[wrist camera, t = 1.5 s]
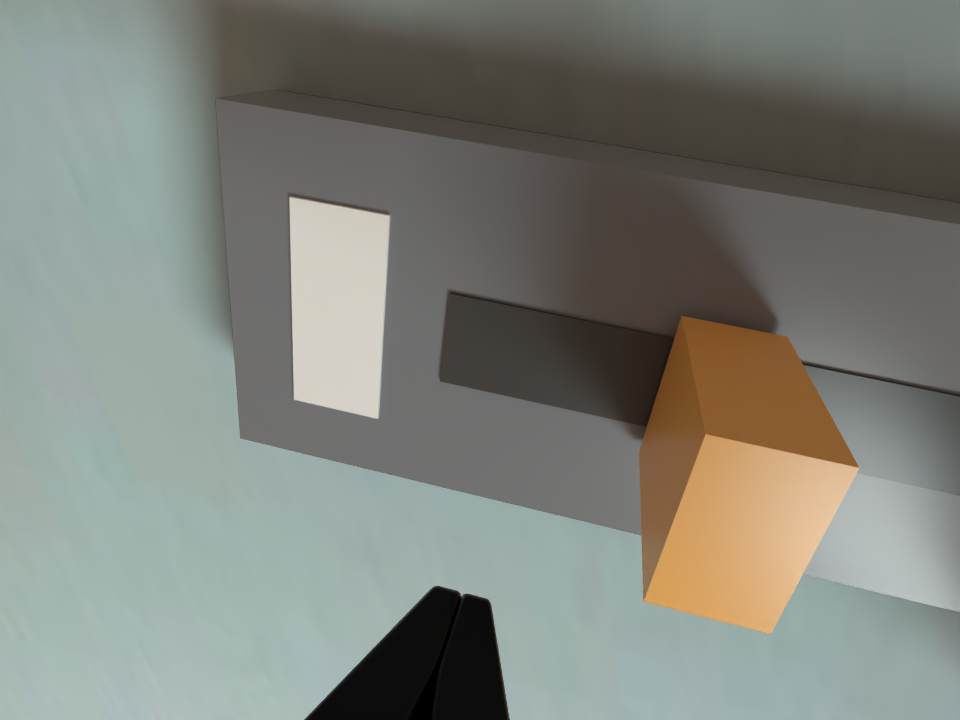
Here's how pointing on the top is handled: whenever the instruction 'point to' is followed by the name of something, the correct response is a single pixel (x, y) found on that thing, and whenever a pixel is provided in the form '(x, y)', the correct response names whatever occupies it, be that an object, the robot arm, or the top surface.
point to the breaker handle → (736, 475)
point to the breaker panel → (579, 314)
